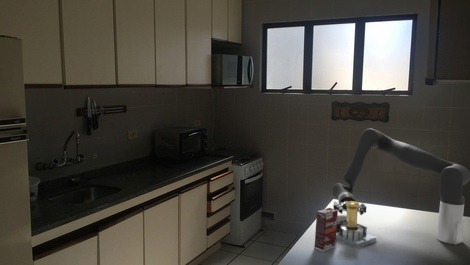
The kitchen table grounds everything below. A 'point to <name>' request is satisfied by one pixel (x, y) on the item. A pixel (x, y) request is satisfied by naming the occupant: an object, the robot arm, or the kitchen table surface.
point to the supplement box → (326, 229)
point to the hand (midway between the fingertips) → (351, 212)
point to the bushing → (352, 215)
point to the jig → (353, 235)
